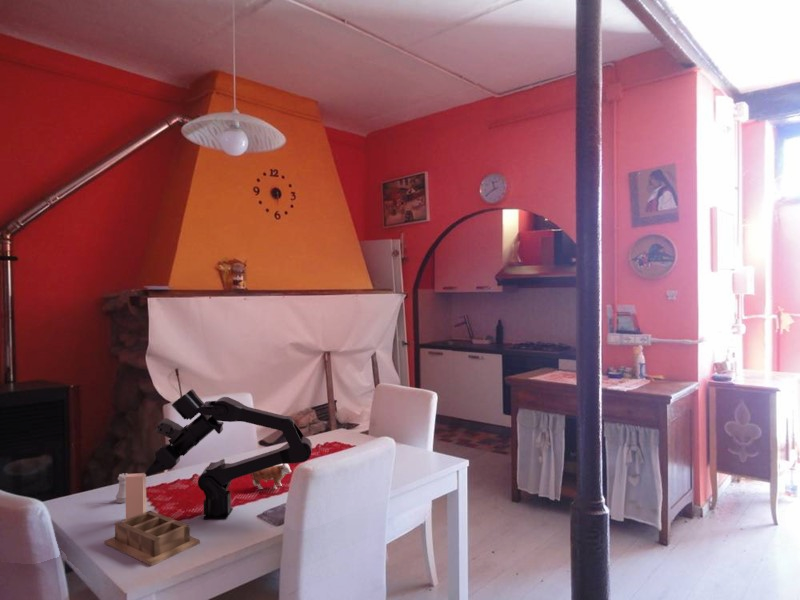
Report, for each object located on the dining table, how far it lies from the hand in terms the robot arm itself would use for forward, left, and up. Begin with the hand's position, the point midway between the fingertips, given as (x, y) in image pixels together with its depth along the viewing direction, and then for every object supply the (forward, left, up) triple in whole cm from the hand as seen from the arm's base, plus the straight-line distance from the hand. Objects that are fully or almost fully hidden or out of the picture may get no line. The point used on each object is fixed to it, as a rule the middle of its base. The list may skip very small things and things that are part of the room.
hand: (152, 468), depth 146 cm
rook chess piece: (+14, -13, -14) cm, 24 cm away
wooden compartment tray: (-6, +15, -14) cm, 21 cm away
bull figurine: (-29, -21, -14) cm, 39 cm away
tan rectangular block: (+4, +1, -14) cm, 15 cm away
